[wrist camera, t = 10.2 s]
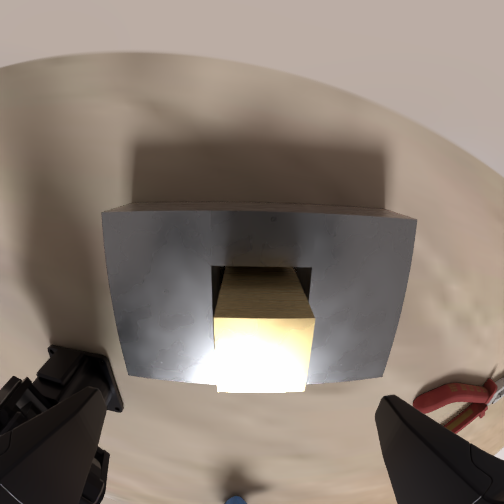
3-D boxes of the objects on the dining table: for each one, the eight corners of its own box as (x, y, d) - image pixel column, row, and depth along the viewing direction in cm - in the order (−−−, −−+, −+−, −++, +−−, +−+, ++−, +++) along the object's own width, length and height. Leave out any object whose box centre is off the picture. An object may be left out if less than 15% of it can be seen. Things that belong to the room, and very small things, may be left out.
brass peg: (284, 308, 19) (304, 390, 11) (229, 307, 19) (217, 391, 11) (287, 255, 18) (315, 318, 10) (228, 254, 18) (213, 317, 10)
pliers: (501, 401, 24) (509, 410, 22) (391, 452, 25) (397, 467, 22) (527, 338, 21) (538, 347, 19) (412, 391, 22) (422, 407, 20)
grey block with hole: (362, 344, 19) (382, 376, 16) (146, 342, 19) (128, 375, 15) (384, 209, 17) (417, 219, 13) (131, 203, 17) (101, 212, 13)
